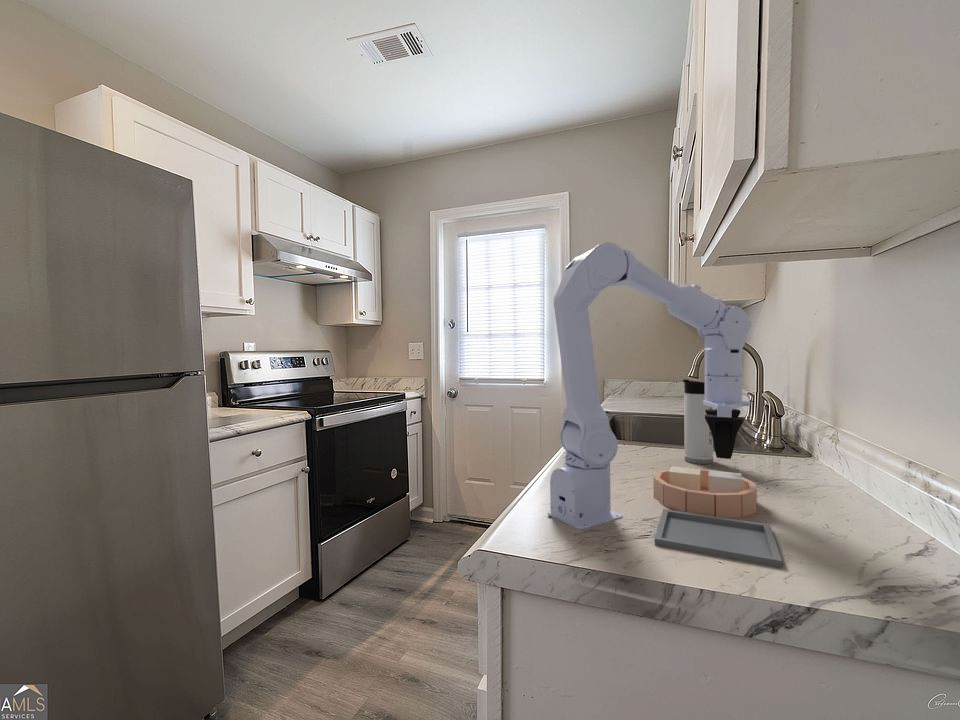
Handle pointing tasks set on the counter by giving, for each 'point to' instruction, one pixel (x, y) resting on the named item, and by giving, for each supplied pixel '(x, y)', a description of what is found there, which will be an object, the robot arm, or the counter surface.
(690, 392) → the travel mug
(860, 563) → the counter surface
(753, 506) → the bowl
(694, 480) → the cream block
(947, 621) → the counter surface
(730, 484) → the pale grey cube
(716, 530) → the tray
